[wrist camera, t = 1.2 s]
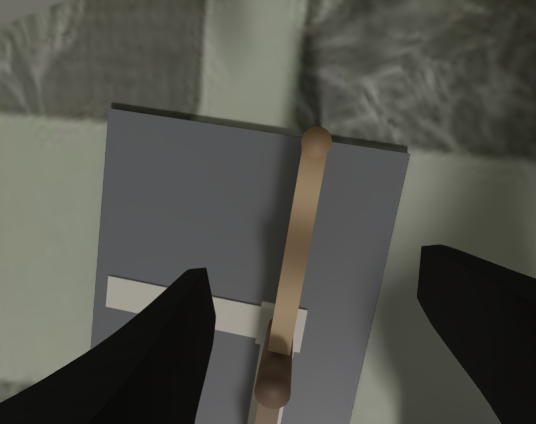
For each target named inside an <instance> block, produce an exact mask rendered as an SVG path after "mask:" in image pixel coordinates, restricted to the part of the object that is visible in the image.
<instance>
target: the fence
mask: <svg viewBox="0 0 536 424" xmlns="http://www.w3.org/2000/svg"><path fill="white" fill-rule="evenodd" d="M272 321H273V318H272V319H271V320H270V321H269V324H268V328H267V333H266V337H265V342H264V347H263V351H262V356H261V361H260V365H259V370H258V375H257V379H256V384H255V388H254V393H255V397H256V399H257V401H258V402H259V403H258V408H257V414H256V420H255V424H277V421H278V416H279V410H280V408H282V407H283V406H285V405H286V404H287V403H288V401H289V400H290V396H291V376H292V355H293V341H292V346H291V351H290V355H286V354H281V353H277V352H272V351H267V350H268V344H269V339H270V333H271V327H272Z"/></svg>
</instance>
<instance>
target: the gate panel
mask: <svg viewBox="0 0 536 424" xmlns="http://www.w3.org/2000/svg"><path fill="white" fill-rule="evenodd" d="M331 145H332V138H331V135H330V133H329V132H328V131H327V130H326V129H325V128H323V127H319V126H315V127H311V128H309V129H308V130H307V131H306V132H305V133H304V134H303V136H302V140H301V159H300V164H299V170H298V176H297V182H296V188H295V193H294V199H293V205H292V211H291V217H290V222H289V228H288V234H287V240H286V246H285V251H284V257H283V263H282V269H281V275H280V281H279V286H278V292H277V298H276V304H275V310H274V315H273V321H272V327H271V333H270V339H269V344H268V350H267V351H272V352H277V353H281V354H286V355H290V351H291V346H292V341H293V335H294V330H295V324H296V319H297V314H298V308H299V303H300V297H301V292H302V287H303V281H304V276H305V270H306V265H307V259H308V254H309V249H310V243H311V238H312V232H313V227H314V222H315V216H316V211H317V205H318V200H319V195H320V189H321V184H322V178H323V173H324V167H325V162H326V157H327V152H328V151H329V150H330V148H331Z"/></svg>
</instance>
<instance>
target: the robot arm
mask: <svg viewBox="0 0 536 424" xmlns="http://www.w3.org/2000/svg"><path fill="white" fill-rule="evenodd" d="M417 299H418V301H419V303H420V305H421V306H422V308H423V310H424V312H425V314H426V316H427V317H428V319H429V321H430V323H431V324H432V326H433V327H434V329H435V330H436V331H437V333H438V334H439V336H440V337H441V338H442V340H443V341H444V342H445V344H446V345H447V347H448V348H449V349H450V351H451V352H452V353H453V355H454V356H455V357H456V359H457V360H458V361H459V363H460V364H461V365H462V367H463V368H464V369H465V371H466V372H467V373H468V375H469V376H470V377H471V379H472V380H473V382H474V383H475V384H476V386H477V387H478V388H479V390H480V391H481V393H482V394H483V396H484V397H485V398H486V400H487V401H488V403H489V404H490V406H491V407H492V409H493V411H494V412H495V414H496V416H497V417H498V419H499V420H500V422H501V424H536V279H535V278H532V277H529V276H527V275H524V274H521V273H518V272H515V271H513V270H510V269H507V268H505V267H502V266H499V265H497V264H494V263H492V262H489V261H486V260H484V259H481V258H479V257H476V256H473V255H471V254H468V253H465V252H463V251H460V250H457V249H454V248H451V247H448V246H444V245H430V246H422V248H421V259H420V270H419V280H418V291H417ZM215 323H216V313H215V308H214V303H213V298H212V293H211V288H210V283H209V278H208V273H207V268H206V267H205V268H194V269H188V270H187V271H185V272H184V273H183V274H182V275H181V276H180V277H179V278H177V279H176V280H175V281H174V282H173V283H172V284H171V285H170V286H169V287H168V288H167V289H166V290H164V291H163V292H162V293H161V294H160V295H159V296H158V297H157V298H156V299H155V300H153V301H152V302H151V303H150V304H149V305H148V306H147V307H145V308H144V309H143V310H142V311H141V312H139V313H138V314H137V315H136V316H135V317H133V318H132V319H131V320H130V321H128V322H127V323H126V324H125V325H124V326H122V327H121V328H120V329H118V330H117V331H116V332H115V333H113V334H112V335H110V336H109V337H108V338H106V339H105V340H104V341H102V342H101V343H99V344H98V345H96V346H95V347H94V348H92V349H91V350H89V351H88V352H86V353H85V354H83V355H82V356H80V357H78V358H77V359H75V360H74V361H72V362H70V363H69V364H67V365H66V366H64V367H62V368H61V369H59V370H57V371H56V372H54V373H53V374H51V375H49V376H48V377H46V378H45V379H43V380H41V381H39V382H38V383H36V384H34V385H32V386H30V387H29V388H27V389H25V390H23V391H21V392H20V393H18V394H16V395H14V396H12V397H10V398H9V399H7V400H5V401H3V402H1V403H0V424H195V419H196V414H197V410H198V406H199V402H200V397H201V393H202V389H203V385H204V381H205V377H206V373H207V369H208V365H209V360H210V356H211V352H212V347H213V341H214V333H215Z"/></svg>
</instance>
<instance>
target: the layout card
mask: <svg viewBox="0 0 536 424" xmlns="http://www.w3.org/2000/svg"><path fill="white" fill-rule="evenodd" d="M301 140H302V137H296V136H289V135H283V134H276V133H269V132H263V131H256V130H249V129H243V128H236V127H229V126H223V125H216V124H209V123H203V122H196V121H190V120H183V119H176V118H170V117H163V116H156V115H150V114H143V113H136V112H130V111H123V110H116V109H110V108H109V113H108V126H107V139H106V152H105V166H104V179H103V192H102V205H101V218H100V232H99V245H98V258H97V271H96V284H95V298H94V311H93V324H92V337H91V349H92V348H94V347H95V346H96V345H98V344H99V343H101V342H102V341H104V340H105V339H106V338H108V337H109V336H110V335H112V334H113V333H115V332H116V331H117V330H118V329H120V328H121V327H122V326H124V325H125V324H126V323H127V322H128V321H130V320H131V319H132V318H133V317H135V316H136V315H137V314H138V313H139V312H141V311H142V310H143V309H144V308H145V307H147V306H148V305H149V304H150V303H151V302H152V301H153V300H155V299H156V298H157V297H158V296H159V295H160V294H161V293H162V292H163V291H164V290H166V289H167V288H168V287H169V286H170V285H171V284H172V283H173V282H174V281H175V280H176V279H177V278H179V277H180V276H181V275H182V274H183V273H184V272H185V271H187V270H188V269H194V268H205V267H206V268H207V273H208V278H209V283H210V288H211V293H212V298H213V303H214V308H215V313H216V323H215V333H214V341H213V347H212V352H211V356H210V360H209V365H208V369H207V373H206V377H205V381H204V385H203V389H202V393H201V397H200V402H199V406H198V410H197V414H196V419H195V424H255V420H256V414H257V408H258V403H259V402H258V401H257V399H256V397H255V393H254V388H255V384H256V379H257V375H258V370H259V365H260V361H261V356H262V351H263V347H264V342H265V337H266V333H267V328H268V324H269V321H270V320H271V319H272V318H273V315H274V310H275V304H276V298H277V292H278V286H279V281H280V275H281V269H282V263H283V257H284V251H285V246H286V240H287V234H288V228H289V222H290V217H291V211H292V205H293V199H294V193H295V188H296V182H297V176H298V170H299V164H300V159H301ZM409 157H410V154H409V153H402V152H396V151H389V150H382V149H376V148H369V147H362V146H356V145H349V144H342V143H336V142H332V145H331V148H330V150H329V151H328V152H327V157H326V162H325V167H324V173H323V178H322V184H321V189H320V195H319V200H318V205H317V211H316V216H315V222H314V227H313V232H312V238H311V243H310V249H309V254H308V259H307V265H306V270H305V276H304V281H303V287H302V292H301V297H300V303H299V308H298V314H297V319H296V324H295V330H294V335H293V355H292V376H291V396H290V400H289V401H288V403H287V404H286V405H285V406H283V407H282V408H280V410H279V416H278V421H277V424H349V423H350V418H351V414H352V409H353V405H354V401H355V396H356V392H357V387H358V383H359V378H360V374H361V370H362V365H363V361H364V356H365V352H366V347H367V343H368V339H369V334H370V330H371V325H372V321H373V316H374V312H375V307H376V303H377V299H378V294H379V290H380V285H381V281H382V276H383V272H384V268H385V263H386V259H387V254H388V250H389V245H390V241H391V237H392V232H393V228H394V223H395V219H396V214H397V210H398V206H399V201H400V197H401V192H402V188H403V183H404V179H405V175H406V170H407V166H408V161H409Z"/></svg>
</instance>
